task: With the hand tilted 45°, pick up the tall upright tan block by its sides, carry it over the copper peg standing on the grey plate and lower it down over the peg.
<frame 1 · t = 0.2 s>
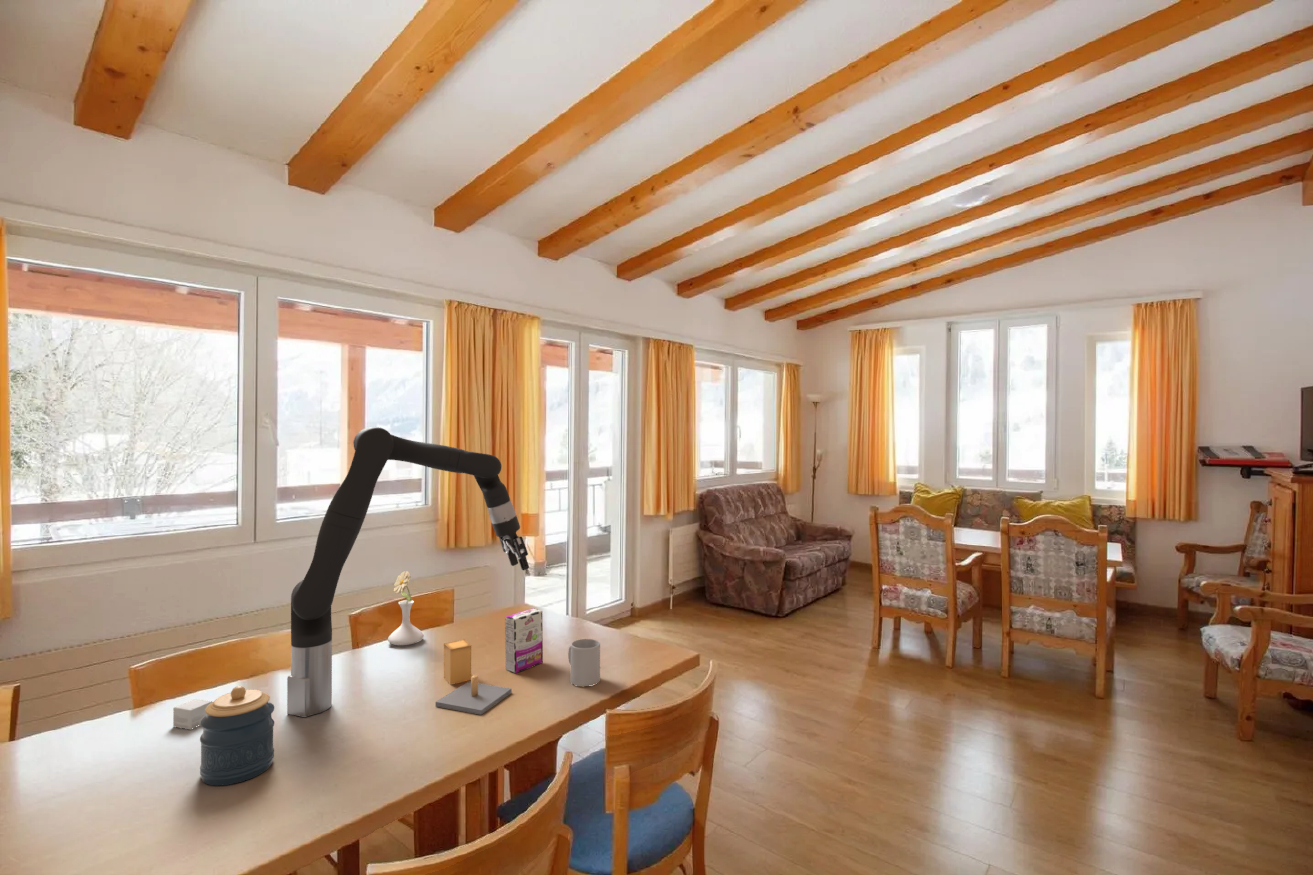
hand: (520, 566, 188), 31 cm above the table, tool tilted 20°, fingers open, 8 cm apart
small box: (193, 724, 150), on the table
peg plate: (474, 699, 165), on the table
candy bar box: (523, 667, 189), on the table
mug: (581, 680, 179), on the table
canister: (238, 770, 130), on the table
flower in vase: (406, 643, 208), on the table
upright tan block: (457, 678, 179), on the table
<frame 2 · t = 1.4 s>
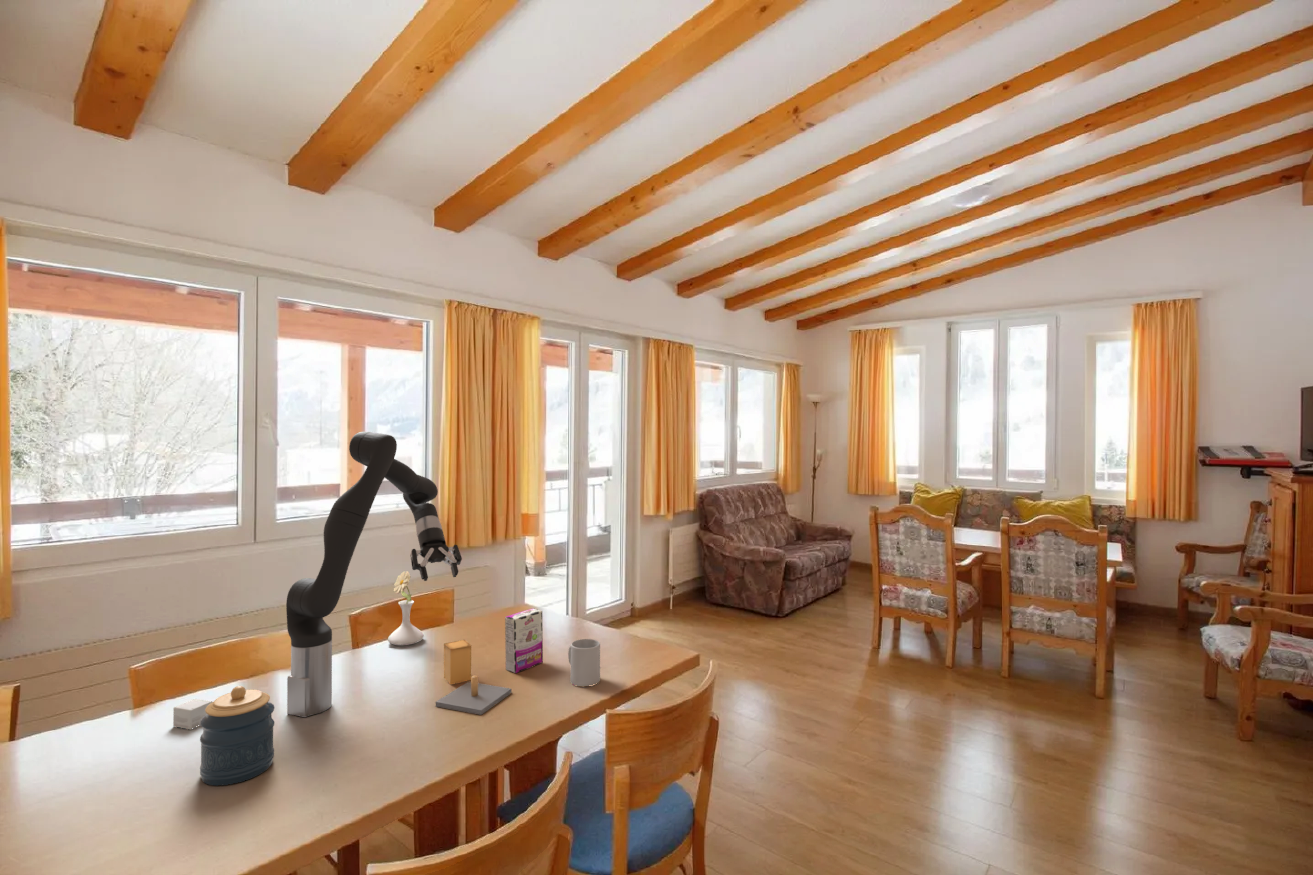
hand: (441, 577, 183), 28 cm above the table, tool tilted 45°, fingers open, 8 cm apart
nothing on the table moved.
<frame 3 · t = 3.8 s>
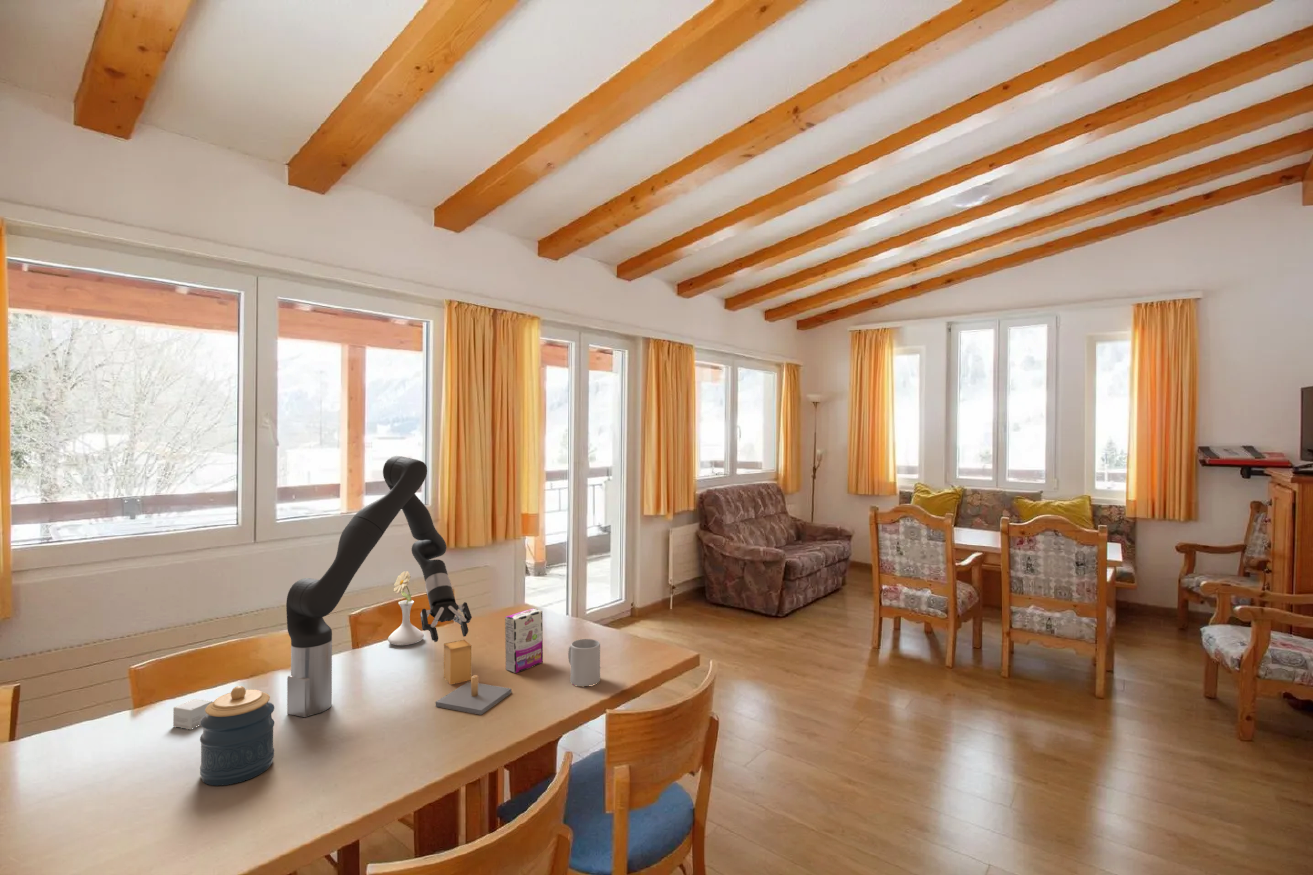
hand: (451, 637, 183), 10 cm above the table, tool tilted 45°, fingers open, 8 cm apart
nothing on the table moved.
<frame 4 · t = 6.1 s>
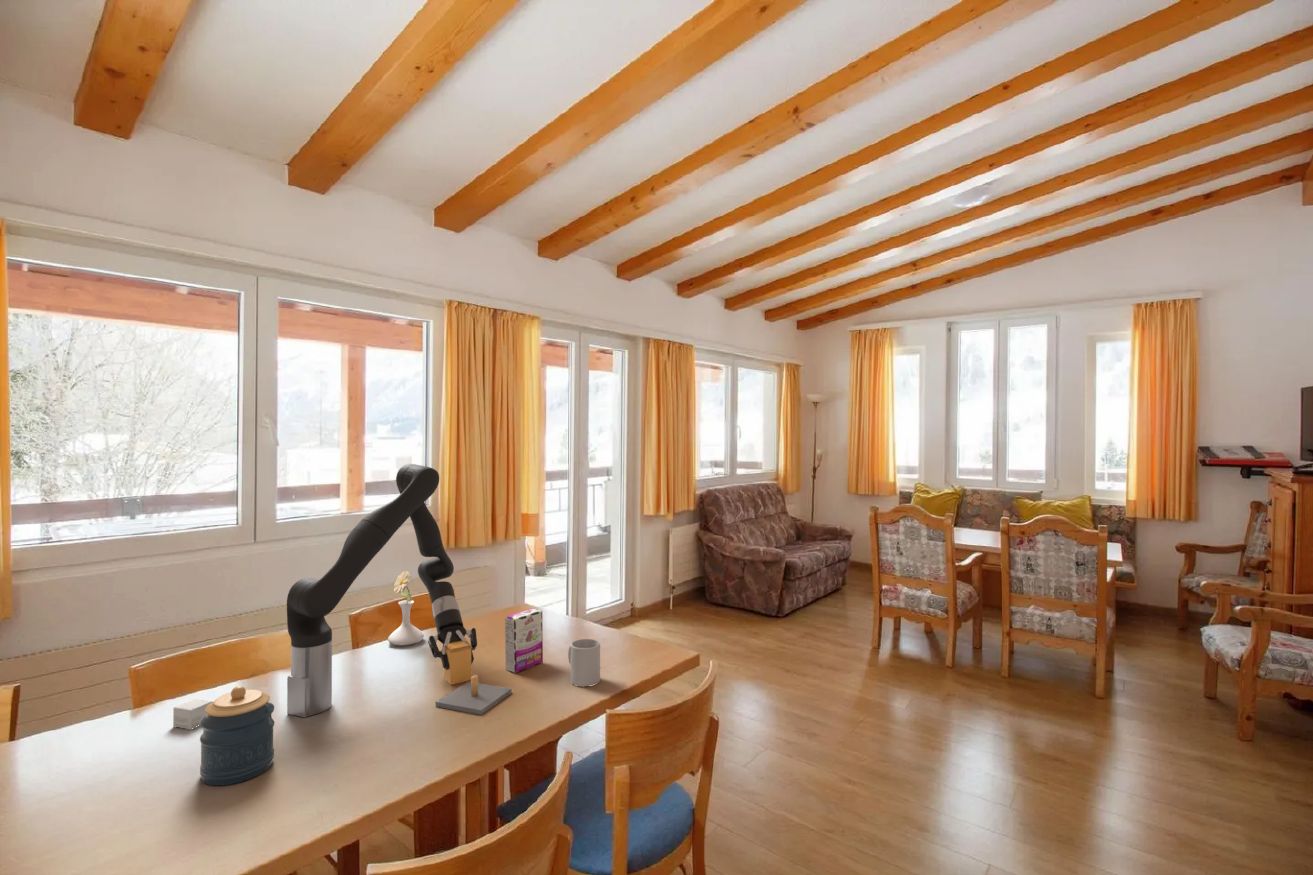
hand: (459, 665, 177), 4 cm above the table, tool tilted 45°, fingers closed on upright tan block, 6 cm apart
upright tan block: (457, 678, 179), on the table, touching gripper
everything else where it was.
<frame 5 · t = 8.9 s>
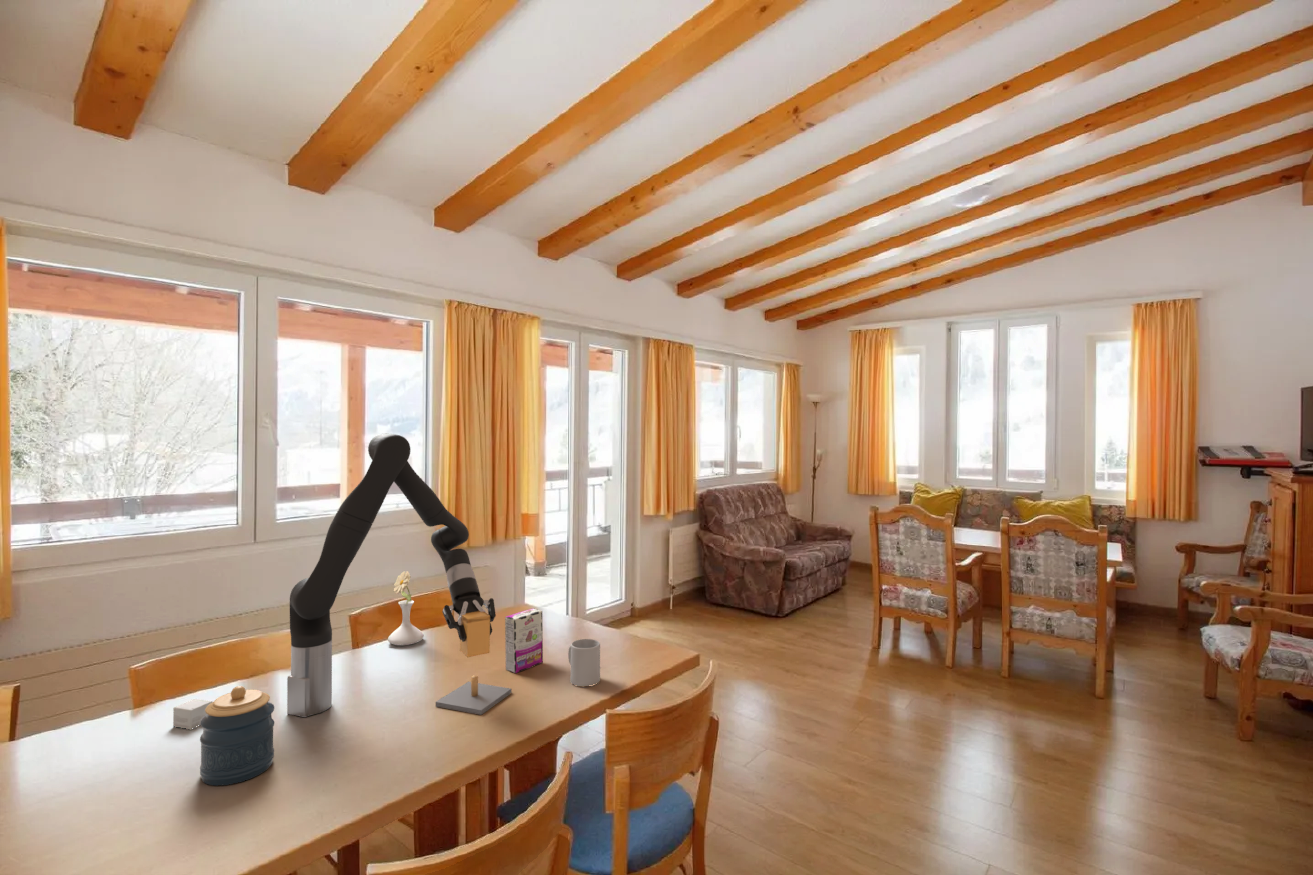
hand: (477, 637, 163), 17 cm above the table, tool tilted 45°, fingers closed on upright tan block, 6 cm apart
upright tan block: (474, 651, 165), point 13 cm above the table, touching gripper
everything else where it was.
when the fingers open (7 cm above the table, at t = 11.7 s): upright tan block drops 1 cm, resting on peg plate.
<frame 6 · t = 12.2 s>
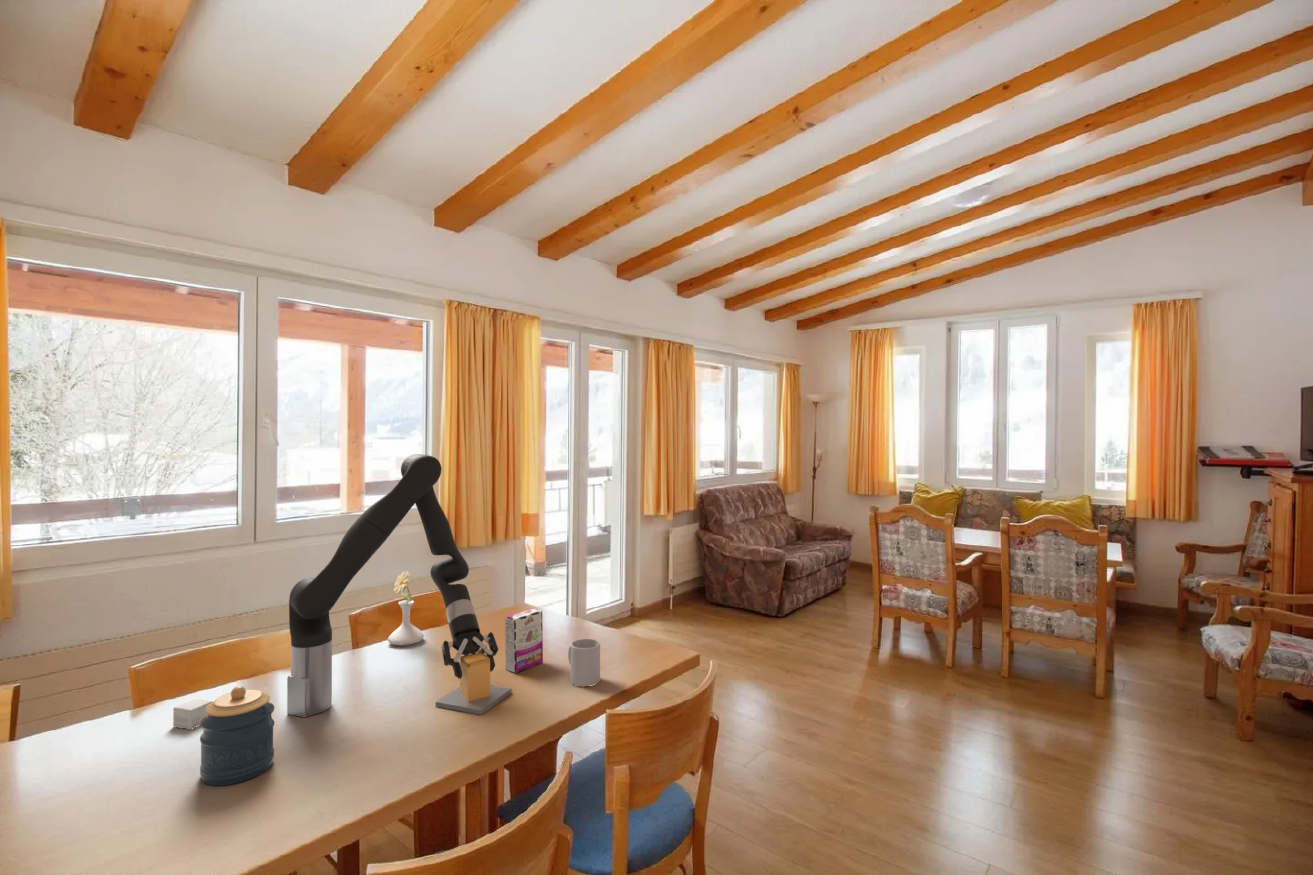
hand: (476, 673, 164), 7 cm above the table, tool tilted 45°, fingers open, 8 cm apart
upright tan block: (475, 694, 165), point 1 cm above the table, touching peg plate
everything else where it was.
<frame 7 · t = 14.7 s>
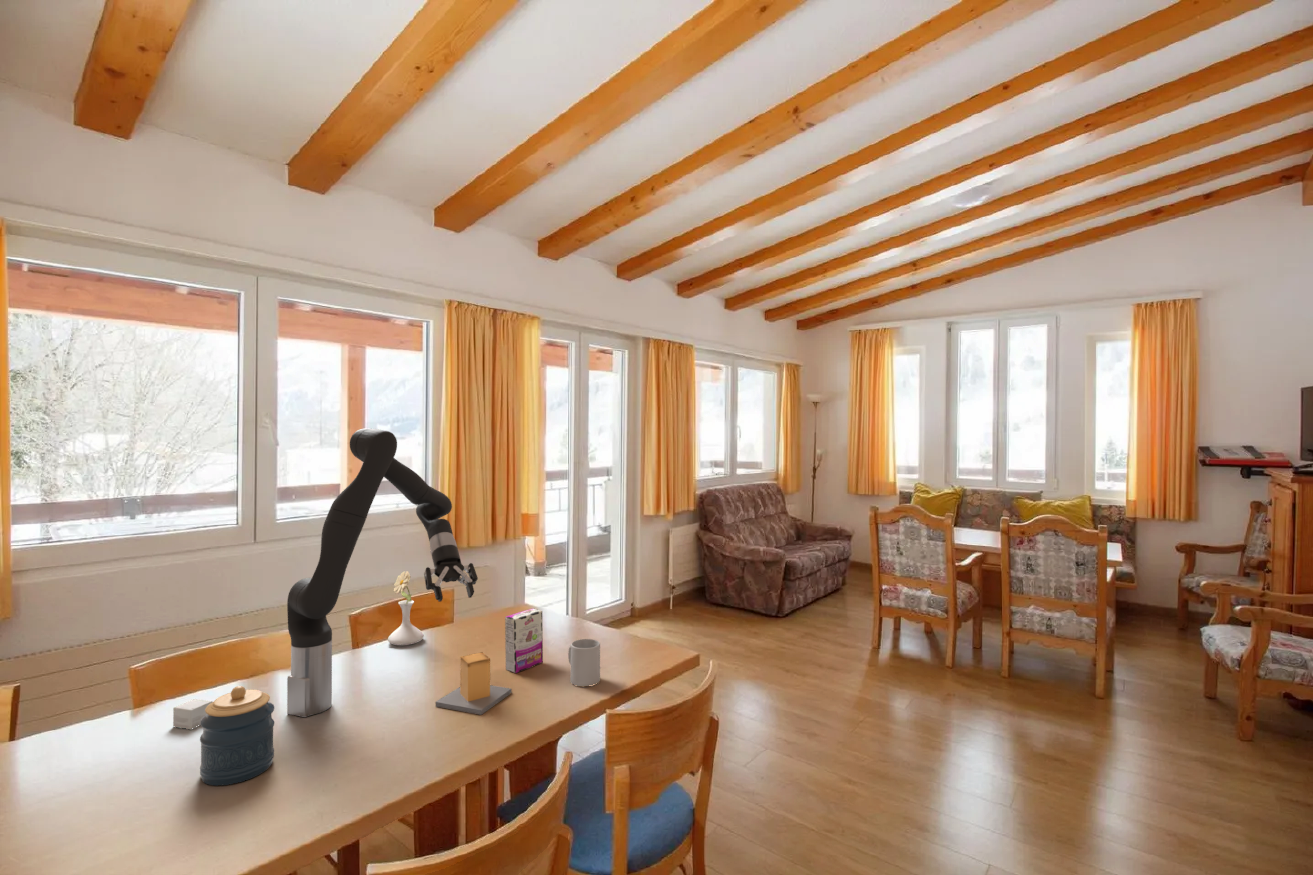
hand: (456, 598, 174), 25 cm above the table, tool tilted 45°, fingers open, 8 cm apart
nothing on the table moved.
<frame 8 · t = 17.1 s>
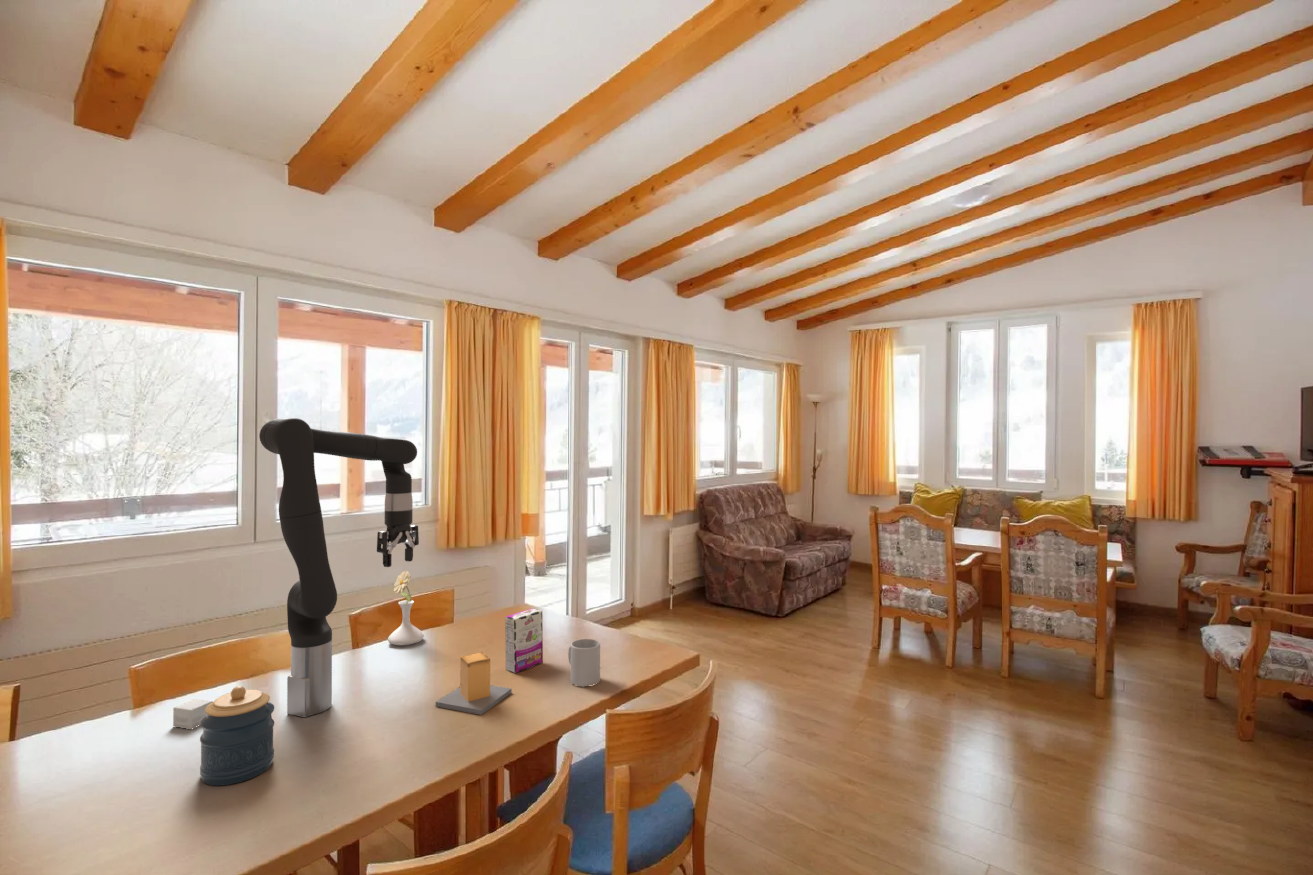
hand: (398, 563, 179), 33 cm above the table, tool pointing down, fingers open, 8 cm apart
nothing on the table moved.
at the end: upright tan block 0.2 cm off-centre on the peg plate, point 1.2 cm above the peg plate's base; upright tan block tilted 0°; the gripper is holding nothing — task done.
